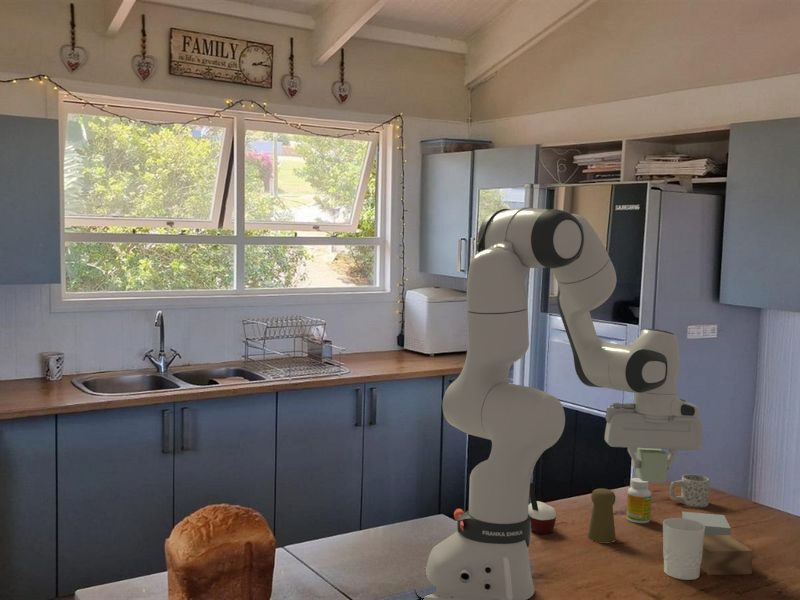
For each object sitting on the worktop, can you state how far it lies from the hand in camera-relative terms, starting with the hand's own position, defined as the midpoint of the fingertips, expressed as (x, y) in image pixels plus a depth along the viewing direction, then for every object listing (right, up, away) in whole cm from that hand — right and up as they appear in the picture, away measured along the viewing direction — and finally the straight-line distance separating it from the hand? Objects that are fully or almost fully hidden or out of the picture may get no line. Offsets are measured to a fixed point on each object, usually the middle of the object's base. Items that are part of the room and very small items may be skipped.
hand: (651, 468), depth 175 cm
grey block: (+14, -18, +6) cm, 23 cm away
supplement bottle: (+3, -17, +19) cm, 26 cm away
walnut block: (+11, -19, -8) cm, 23 cm away
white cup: (+2, -19, -13) cm, 23 cm away
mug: (+20, -16, +33) cm, 42 cm away
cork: (-9, -17, +6) cm, 20 cm away
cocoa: (-22, -17, +10) cm, 29 cm away
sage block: (0, -2, 0) cm, 2 cm away
